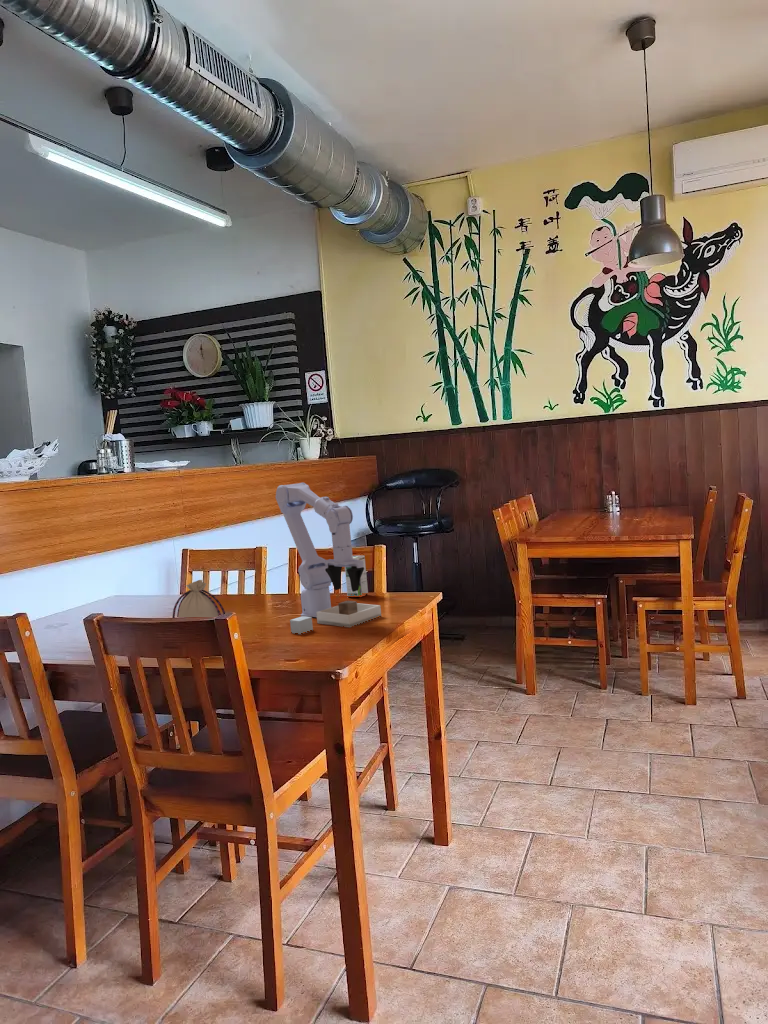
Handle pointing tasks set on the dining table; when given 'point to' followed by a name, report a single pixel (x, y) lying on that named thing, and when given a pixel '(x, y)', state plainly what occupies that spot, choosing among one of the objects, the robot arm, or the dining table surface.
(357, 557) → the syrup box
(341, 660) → the dining table surface
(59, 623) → the dining table surface
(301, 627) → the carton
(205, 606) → the pouch
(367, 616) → the tote
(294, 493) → the robot arm
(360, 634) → the dining table surface
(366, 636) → the dining table surface
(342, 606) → the walnut block
